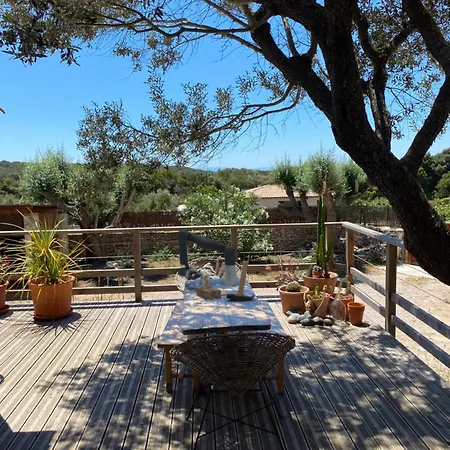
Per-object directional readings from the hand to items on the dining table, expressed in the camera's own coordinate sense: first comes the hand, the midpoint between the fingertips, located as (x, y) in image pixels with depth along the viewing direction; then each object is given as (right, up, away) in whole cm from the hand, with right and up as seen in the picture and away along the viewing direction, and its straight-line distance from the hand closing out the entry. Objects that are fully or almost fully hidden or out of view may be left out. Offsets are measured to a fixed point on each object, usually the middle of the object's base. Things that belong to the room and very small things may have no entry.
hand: (200, 277), depth 338 cm
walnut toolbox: (+7, -13, -11) cm, 18 cm away
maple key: (+5, -13, -7) cm, 15 cm away
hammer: (+31, -14, -25) cm, 42 cm away
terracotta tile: (+16, -12, -3) cm, 21 cm away
